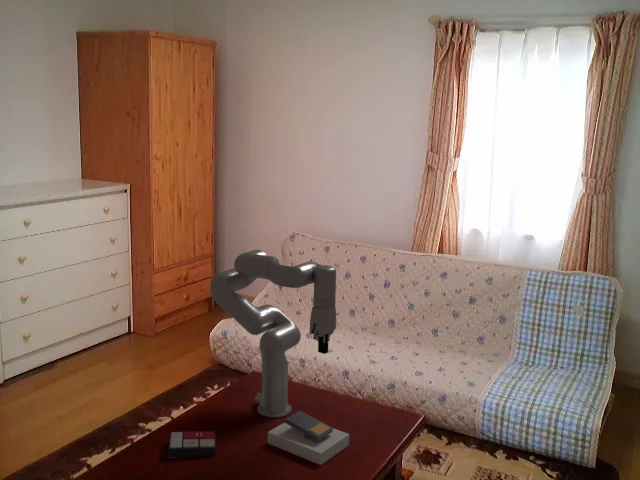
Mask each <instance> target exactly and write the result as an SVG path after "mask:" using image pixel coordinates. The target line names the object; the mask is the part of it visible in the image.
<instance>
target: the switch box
mask: <svg viewBox="0 0 640 480" xmlns="http://www.w3.org/2000/svg"><path fill="white" fill-rule="evenodd" d="M332 428H333V427H332ZM267 444H268V445H271V446H274V447H275V448H279V449H281V450H283V451H285V452H288V453H290V454H293V455H296V456H298V457H300V458H302V459H305V460H307V461H310V462H311V463H315V464H317V465H319V466H322V465H323V464H325V463H326V462H328V461H329V460H331V459H332V458H333V457H335V456H336V455H337V454H339V453H340V452H342V451H343V450H344V449H346V448H347V447H349V445H350V433H347V432H345V431H341V430H339V429H336V428H333V431H332V433H330V434H328V435H327V436H325V437H324V438H322V439H321V440H319V441H317V440H315V439H313V438H311V437H309V436H308V435H306V434H304V433H302V432H300V431H299V430H297V429H295V428H293V427H292V426H290V425H288V424H286V423H285V422H283V423H281V424H280V425H278V426H276V427H275V428H272V429H271V430H268V432H267Z"/></svg>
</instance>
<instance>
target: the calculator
mask: <svg viewBox="0 0 640 480" xmlns="http://www.w3.org/2000/svg"><path fill="white" fill-rule="evenodd" d="M216 435H217V434H216V432H215V431H214V430H213V431H210V430H207V431H205V430H204V431H197V430H196V431H184V432H183V431H177V432H176V431H175V432H174V431H172V432H170V433H169V440H168V447H167V449H168V450H167V458H168V457H182V458H198V457H197V456H203V457H214V456H213V455H215V456H216V455H217V439H216ZM207 455H208V456H207ZM211 455H212V456H211ZM187 456H188V457H187ZM194 456H195V457H194Z"/></svg>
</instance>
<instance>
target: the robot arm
mask: <svg viewBox="0 0 640 480" xmlns="http://www.w3.org/2000/svg"><path fill="white" fill-rule="evenodd" d="M233 266H234V268H231V269H227V270H223V271H221V272H219V273H217V274H216V275H214V276H213V278H212V279H211V280H210V287H209V288H210V293H211V297H212V298H213V301H214V302H215V303H216V304H217V305H218V306H219V307H220V308H221V309H223V310H224V311H225V312H227V314H228V315H230V316H231V317H232V318H233V319H234V320H235V321H236V322H237V323H238V324H239V325H240V326H241V327H242V328H243V329H244V330H245V331H247V333H249V334H250V335H252V336H258V335H260V334H262V333H263V334H262V336H261V337H260V339H259V349H260V354H261V355H260V356H261V393H260V392H257V394H256V396H255V398H254V400H255V401H257V402H259V405H258V406H257V413H258V414H259V415H260V416H263V417H266V418H270V419H271V418H273V419H274V418H276V419H277V418H282V417H285V416H288V415H289V414H291V412H292V405H291V404H290V403H288V391H289V389H288V387H289V386H288V385H289V384H288V383H289V363H288V359H287V357H286V355H285V354H286V352H287V351H288V350H291V349H292V348H294V347H295V346H297V345H298V344H299V343H300V341H301V337H302V334H301V331H300V329H299V327H298V326H297V325H296V324H295V322H293V321H292V320H291V319H290V318H289V317H288V316H287V315H286V314H285V313H283V311H281V310H280V309H279V308H278V307H276V306H275V305H273V304H263V305H260V306H256V305H254V304H253V303H252V302H250V300H249V299H247V298H246V297H245V296H243V295H240V294H238V293H236V292H238V291H240V290H242V289H246V288H248V287H249V286H250V285H252V284H253V283H254V282H255V281H256V280H257V279H263V280H269V281H270V282H271V283H273V284H274V285H276V286H280V287H283V288H289V289H290V288H291V289H298V288H300V289H301V288H302V287H305V286H308V285H311V284H313V304H312V305H313V306H312V307H311V308H312V309H311V310H310V311H311V313H310V320H309V321H310V322H309V334H310V335H313V336H312V340H314V341H317V352H318V353H320V354H324V355H326V354H328V353H329V342H330V339H331V338H330V337H331V335H332V334H333V333H334V331H336V328H337V310H336V309H337V308H336V292H337V291H336V289H337V270H336V268H335V267H334V266H332V265H323V264H321V263H317V262H313V261H307V262H302V263H300V264H296V265H293V266H291V265H285V264H284V265H283V264H281V263H280V261H279V258H278V257H276V256H271V255H268V254H267V253H266V252H265V251H263V250H261V249H254V250H250V251H246V252H242V253H240V254H239V255H237V256H236V258H235V259H234V262H233Z"/></svg>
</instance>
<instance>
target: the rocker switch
mask: <svg viewBox="0 0 640 480" xmlns="http://www.w3.org/2000/svg"><path fill="white" fill-rule="evenodd" d="M284 423H286V424H288V425H290V426H292V427H293V428H295V429H297V430H299V431H300V432H302V433H304V434H306V435H308V436H309V437H311V438H313V439H315V440H317V441H319V440H321V439H322V438H324V437H325V436H327V435H328V434H330V433H332V431H333V427H332V426H330V425H328V424H326V423H324V422H322V421H320V420H319V419H317V418H315V417H313V416H312V415H310V414H308V413H306V412H304V411H302V410H298V411H297V412H295V413H293V414H291V415H289V416H288V417H286V418H285V420H284Z"/></svg>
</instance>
